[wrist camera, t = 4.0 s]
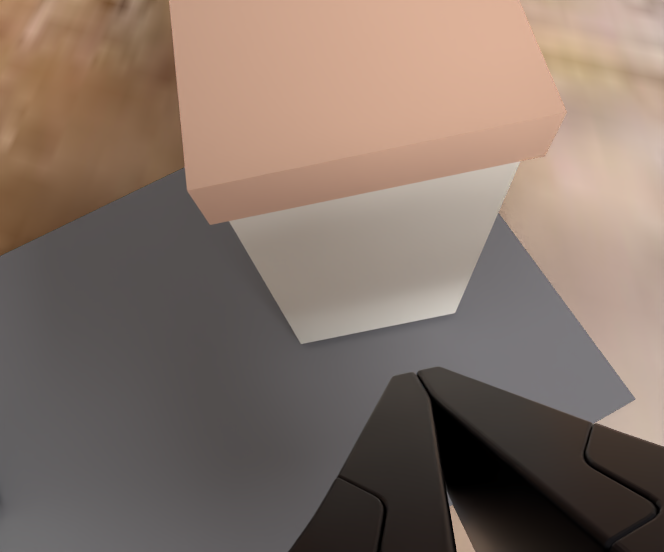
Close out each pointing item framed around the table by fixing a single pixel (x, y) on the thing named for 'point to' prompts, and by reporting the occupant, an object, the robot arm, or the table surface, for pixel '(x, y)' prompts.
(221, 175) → the white lidded canister
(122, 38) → the table surface
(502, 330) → the board
